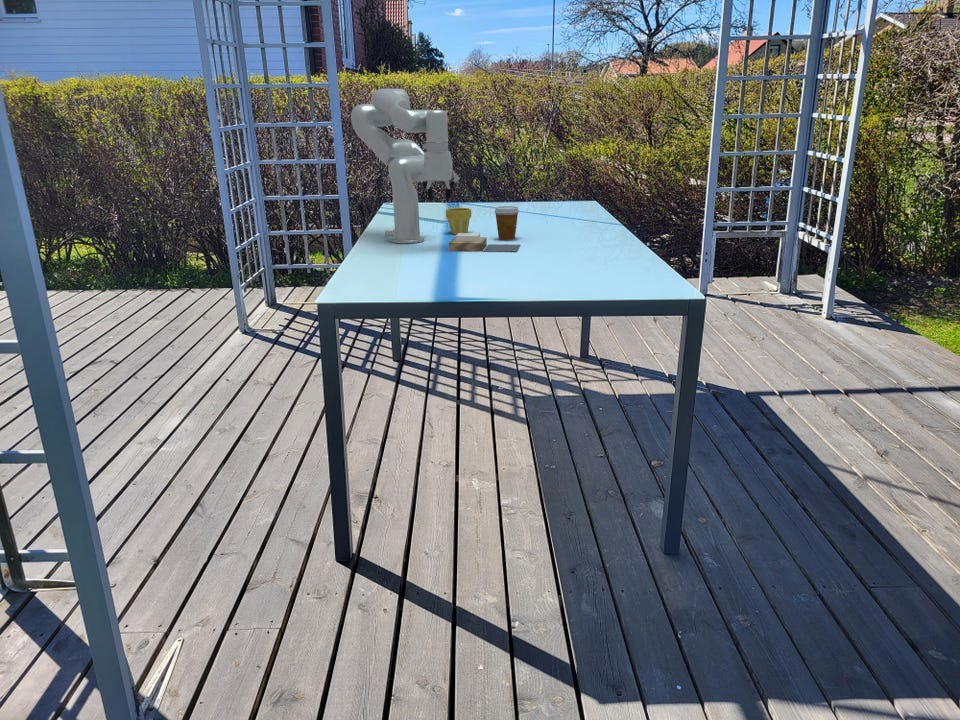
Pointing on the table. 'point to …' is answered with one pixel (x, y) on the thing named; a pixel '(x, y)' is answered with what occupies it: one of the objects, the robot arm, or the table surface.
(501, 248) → the mat
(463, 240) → the tile
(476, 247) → the block
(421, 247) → the table surface
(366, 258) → the table surface
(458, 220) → the plant pot
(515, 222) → the disposable coffee cup
